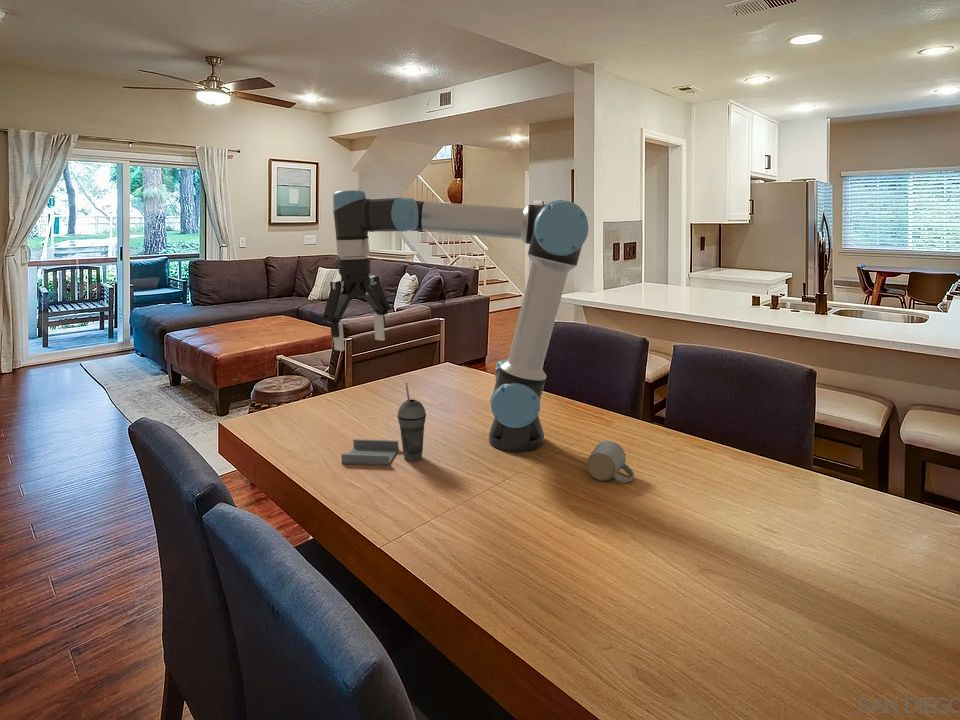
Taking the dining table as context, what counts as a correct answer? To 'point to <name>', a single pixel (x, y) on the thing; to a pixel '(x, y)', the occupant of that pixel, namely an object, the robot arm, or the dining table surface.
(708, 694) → the dining table surface
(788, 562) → the dining table surface
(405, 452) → the beverage cup
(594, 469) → the ceramic mug
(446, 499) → the dining table surface
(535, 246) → the robot arm
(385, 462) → the cradle
